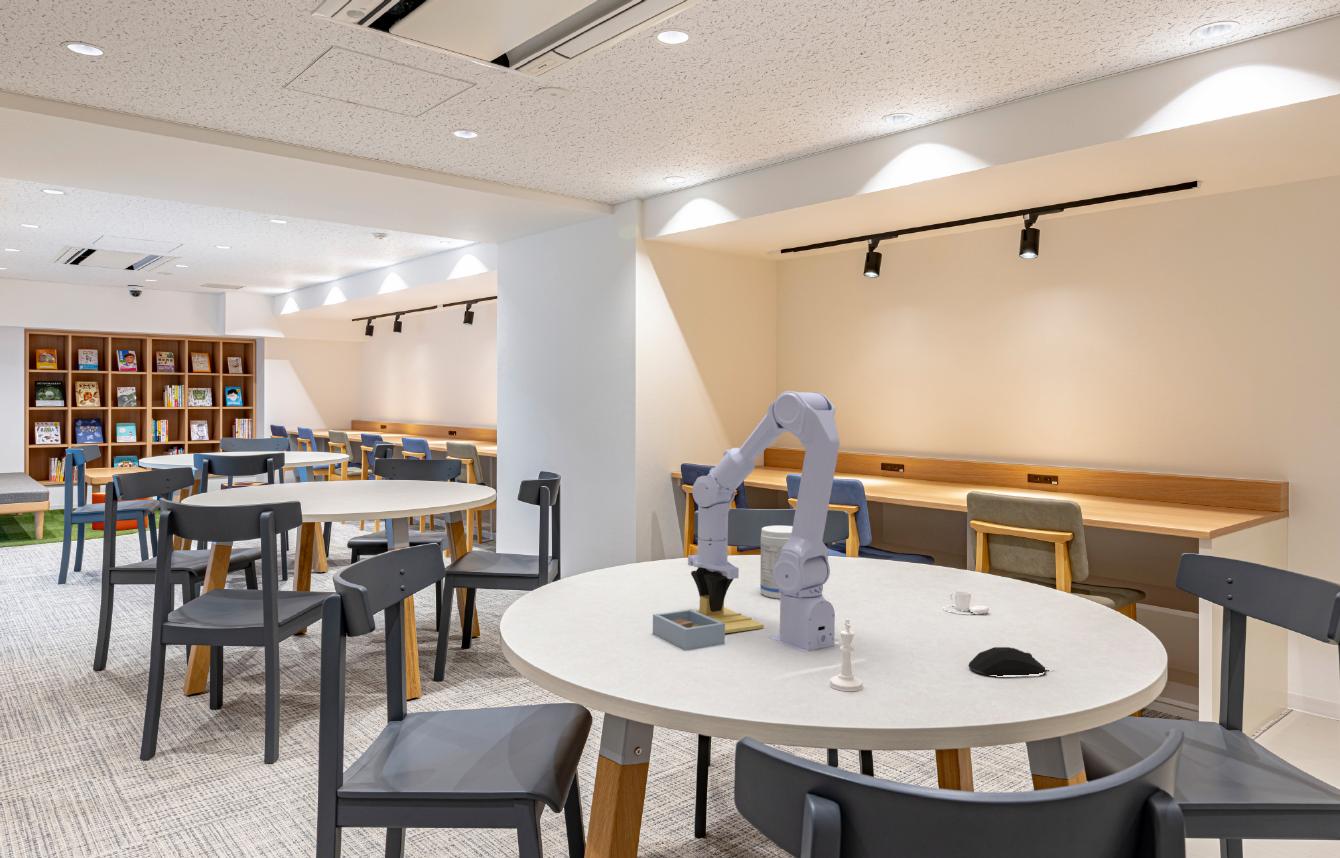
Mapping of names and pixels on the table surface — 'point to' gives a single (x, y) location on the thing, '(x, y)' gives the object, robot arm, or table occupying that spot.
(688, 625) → the walnut block
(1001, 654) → the gaming mouse
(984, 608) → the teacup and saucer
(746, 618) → the lid
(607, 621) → the table surface
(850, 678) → the chess piece
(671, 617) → the parts tub
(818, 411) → the robot arm
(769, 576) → the supplement tub
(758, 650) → the table surface
